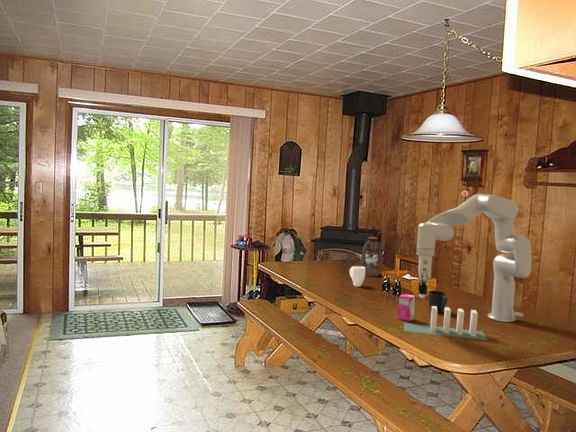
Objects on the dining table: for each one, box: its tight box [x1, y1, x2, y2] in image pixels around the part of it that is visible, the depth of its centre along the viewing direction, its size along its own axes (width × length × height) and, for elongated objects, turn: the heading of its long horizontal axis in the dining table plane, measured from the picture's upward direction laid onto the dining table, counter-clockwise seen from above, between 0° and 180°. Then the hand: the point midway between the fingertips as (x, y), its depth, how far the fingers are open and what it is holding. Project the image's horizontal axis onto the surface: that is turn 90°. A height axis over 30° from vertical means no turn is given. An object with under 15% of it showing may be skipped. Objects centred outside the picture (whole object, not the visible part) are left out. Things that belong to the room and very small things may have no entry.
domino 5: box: [468, 309, 479, 336], centre depth 212 cm, size 2×6×10 cm, turn 167°
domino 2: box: [429, 306, 438, 332], centre depth 215 cm, size 2×6×10 cm, turn 167°
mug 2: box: [349, 265, 366, 288], centre depth 300 cm, size 12×8×11 cm
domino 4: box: [455, 308, 465, 335], centre depth 213 cm, size 2×6×10 cm, turn 167°
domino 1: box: [418, 276, 426, 299], centre depth 215 cm, size 2×6×10 cm, turn 167°
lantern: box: [360, 223, 382, 277], centre depth 335 cm, size 11×16×35 cm
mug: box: [427, 290, 448, 314], centre depth 247 cm, size 8×12×10 cm
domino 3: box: [442, 306, 452, 334], centre depth 214 cm, size 2×6×10 cm, turn 167°
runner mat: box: [403, 322, 488, 341], centre depth 215 cm, size 34×12×1 cm, turn 77°
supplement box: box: [397, 293, 416, 323], centre depth 231 cm, size 6×6×12 cm
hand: (422, 292), depth 216 cm, fingers closed on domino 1, 5 cm apart
